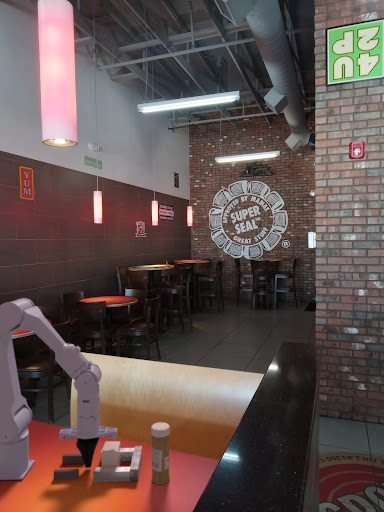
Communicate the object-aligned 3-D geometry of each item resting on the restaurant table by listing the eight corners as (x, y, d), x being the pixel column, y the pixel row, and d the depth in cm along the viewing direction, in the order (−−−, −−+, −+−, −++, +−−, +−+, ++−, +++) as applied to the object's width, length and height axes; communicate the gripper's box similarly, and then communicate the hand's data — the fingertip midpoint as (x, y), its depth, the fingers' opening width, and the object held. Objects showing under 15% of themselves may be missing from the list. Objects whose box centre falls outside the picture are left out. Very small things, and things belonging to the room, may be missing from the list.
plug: (101, 475, 94) (101, 451, 94) (105, 463, 99) (105, 441, 99) (117, 474, 94) (117, 451, 94) (120, 463, 99) (120, 441, 99)
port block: (92, 482, 91) (92, 470, 91) (101, 457, 102) (102, 446, 102) (137, 481, 91) (138, 469, 91) (142, 456, 102) (142, 445, 102)
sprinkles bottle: (173, 481, 91) (173, 426, 91) (156, 487, 89) (156, 431, 88) (164, 472, 95) (163, 419, 95) (148, 477, 92) (148, 424, 92)
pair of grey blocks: (53, 479, 92) (53, 471, 92) (63, 461, 100) (63, 454, 100) (78, 479, 92) (78, 471, 92) (85, 460, 100) (85, 453, 100)
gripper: (119, 406, 100) (119, 456, 100) (64, 407, 100) (65, 457, 100) (114, 418, 93) (114, 471, 93) (56, 419, 92) (56, 473, 93)
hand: (88, 465), depth 96 cm, fingers closed
